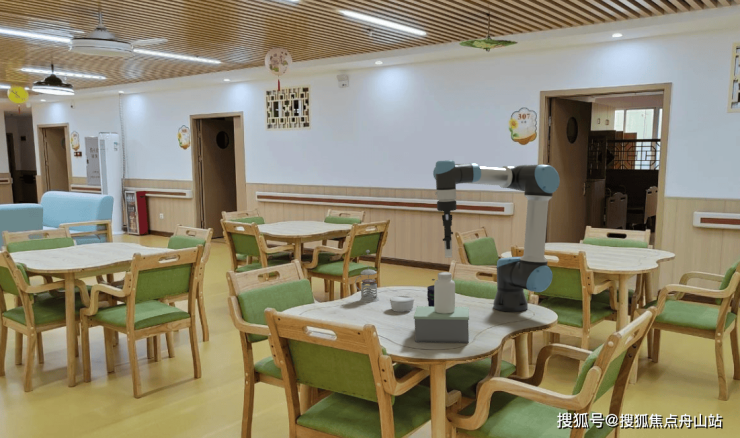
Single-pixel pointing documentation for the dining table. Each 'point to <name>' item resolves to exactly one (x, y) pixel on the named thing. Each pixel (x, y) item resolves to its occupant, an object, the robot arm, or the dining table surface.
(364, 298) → the french press
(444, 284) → the pill bottle
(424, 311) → the box lid
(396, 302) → the ramekin
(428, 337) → the storage box
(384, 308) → the dining table surface
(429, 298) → the storage jar
